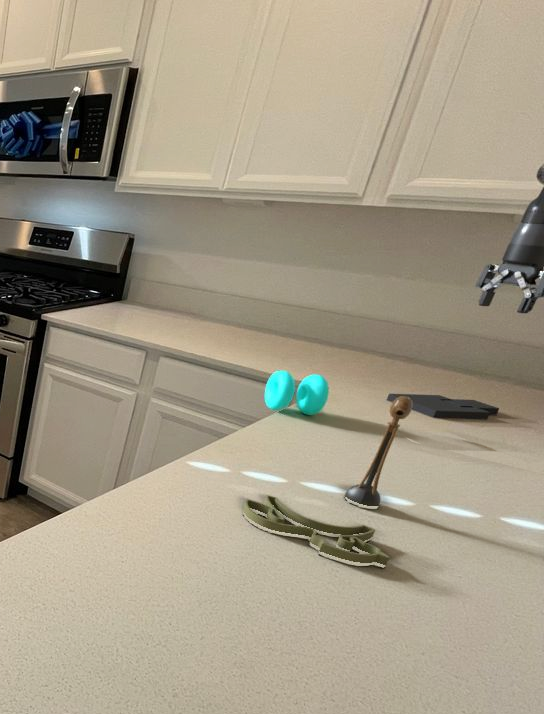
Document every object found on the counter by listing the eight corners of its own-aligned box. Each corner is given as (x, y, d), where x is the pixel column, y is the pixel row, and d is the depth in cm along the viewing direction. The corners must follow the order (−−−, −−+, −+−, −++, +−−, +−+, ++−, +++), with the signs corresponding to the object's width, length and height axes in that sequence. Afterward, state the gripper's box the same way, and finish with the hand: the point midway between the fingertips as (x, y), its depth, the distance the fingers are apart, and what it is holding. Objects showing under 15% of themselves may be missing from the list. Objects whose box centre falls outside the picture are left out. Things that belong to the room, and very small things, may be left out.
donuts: (321, 421, 139) (336, 382, 136) (272, 414, 142) (286, 376, 139) (304, 407, 148) (317, 370, 145) (258, 401, 151) (270, 365, 148)
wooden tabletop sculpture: (375, 515, 99) (423, 405, 92) (340, 503, 102) (384, 396, 95) (379, 503, 102) (425, 397, 95) (345, 493, 105) (388, 389, 98)
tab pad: (467, 412, 151) (473, 399, 150) (493, 421, 145) (499, 408, 144) (434, 411, 150) (439, 398, 149) (458, 420, 145) (464, 407, 144)
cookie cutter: (386, 544, 90) (391, 533, 89) (383, 578, 82) (388, 566, 81) (249, 499, 102) (252, 489, 101) (234, 525, 93) (237, 514, 93)
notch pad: (434, 407, 153) (439, 395, 152) (484, 425, 142) (490, 412, 141) (383, 406, 153) (389, 393, 151) (430, 424, 141) (436, 410, 140)
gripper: (584, 247, 134) (550, 316, 140) (513, 241, 148) (485, 304, 153) (553, 245, 134) (521, 315, 140) (485, 239, 147) (458, 303, 153)
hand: (502, 309), depth 147 cm, fingers open, 8 cm apart
